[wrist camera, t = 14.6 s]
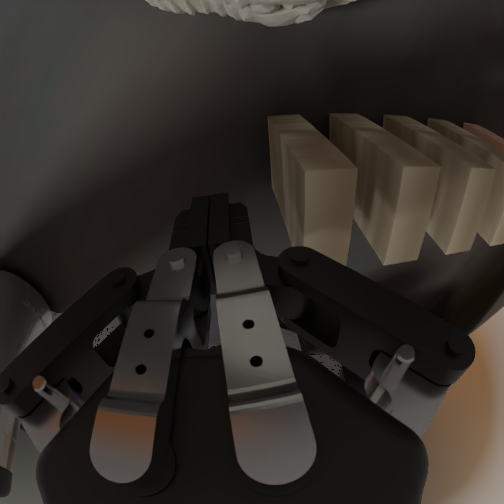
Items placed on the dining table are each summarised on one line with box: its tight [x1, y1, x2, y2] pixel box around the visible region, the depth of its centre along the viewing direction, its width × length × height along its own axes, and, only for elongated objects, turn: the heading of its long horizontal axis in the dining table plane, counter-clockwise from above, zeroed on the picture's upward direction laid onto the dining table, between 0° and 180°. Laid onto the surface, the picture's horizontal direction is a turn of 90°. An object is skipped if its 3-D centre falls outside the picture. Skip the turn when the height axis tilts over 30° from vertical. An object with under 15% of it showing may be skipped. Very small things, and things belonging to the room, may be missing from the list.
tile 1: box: [268, 114, 358, 266], centre depth 15 cm, size 2×5×9 cm, turn 5°
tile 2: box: [329, 113, 441, 265], centre depth 15 cm, size 2×5×9 cm, turn 5°
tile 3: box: [383, 115, 496, 255], centre depth 15 cm, size 2×5×9 cm, turn 5°
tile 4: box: [427, 118, 504, 246], centre depth 15 cm, size 2×5×9 cm, turn 5°
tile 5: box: [463, 122, 504, 153], centre depth 15 cm, size 2×5×9 cm, turn 5°
